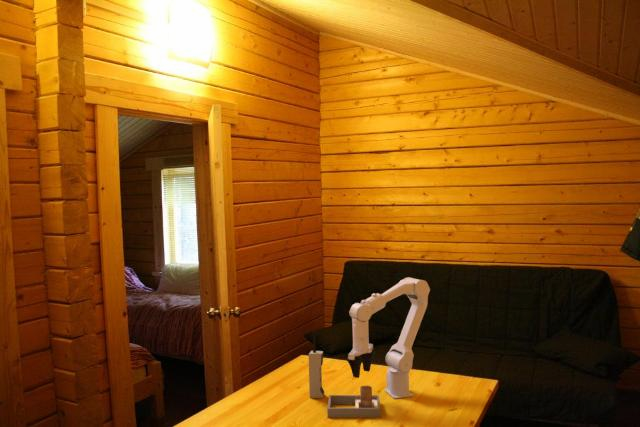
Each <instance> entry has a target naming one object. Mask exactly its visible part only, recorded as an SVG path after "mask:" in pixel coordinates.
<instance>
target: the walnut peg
mask: <svg viewBox="0 0 640 427" xmlns="http://www.w3.org/2000/svg"><path fill="white" fill-rule="evenodd" d="M359 390H360V392H359V393H360V394H359V395H360V398H361V407H360V408H373V407H372V395H373V390H372V386H370V385H361V386H360V388H359Z"/></svg>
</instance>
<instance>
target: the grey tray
mask: <svg viewBox="0 0 640 427" xmlns="http://www.w3.org/2000/svg"><path fill="white" fill-rule="evenodd" d="M380 402H381V401H380V395H379V394H372V408H361V398H360V394H349V395H348V394H330V395H328V401H327V409H326V410H327V411H326V412H327V413H326V414H327V418H376V419H377V418H379V419H380V418H381V416H382V415H381V414H382V412H381V403H380ZM332 405H354V406H355V407H332Z"/></svg>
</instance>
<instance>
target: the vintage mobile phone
mask: <svg viewBox="0 0 640 427" xmlns="http://www.w3.org/2000/svg"><path fill="white" fill-rule="evenodd" d="M315 332H316V330H313V331H312V333H313V334H312V335H313V338H312V339H313V344H312V347H313V348H312V349H313V350H310V352H309V353H308V378H309V379H308V381H309V382H308V386H309V387H308V388H309V390H308V391H309V398H311V399H312V398H315V399H323V397H324V396H325V390H324V387H323V380H322V379H323V378H322V376H323V375H322V374H323V373H322V366H323V364H324V351H322V350H316V349H317V348H316V333H315Z"/></svg>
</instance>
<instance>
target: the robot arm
mask: <svg viewBox="0 0 640 427" xmlns="http://www.w3.org/2000/svg"><path fill="white" fill-rule="evenodd" d="M430 291H431V288H430V286H429V284H428V282H427V281H426V280H423V279H418V278H414V277H410V276H408V277H405V278H403V279H401V280H400V281H399V282H398V283H396V284H395V285H393V286H392V287H390V288H389V289H387V290H385V291H384V292H383V293H379V292H377V293H374V292H373V293H372V294H371V296H370V297H368V298H366V299H362V300H361V301H360V303H359V302H354V304H352V305H351V307H350V309H349V311H348V313H349V316H350V318H351V323H352V349H351V351H350V352H349V353H348V354H347V355H348V356H347V357H346V361H347V363H348V364H349V366H350V369H351V370H350V371H351V374H352V376H353V378H356V379H359V378H360V375H361V367H362V369H363V371H364V372H367V373H368V372H369V373H370V370H371V367H372V362H373V359H374V357H375V355H376V351H375V350H374V344H373V343H370V342H369V341H370V340H369V336H370V335H369V320H370V319H371V317H372V315H374V314H375V313H377V312H378V311H381V310H382V309H384V308H385V307H386V305H387V303H388V302H390V301H391V300H393V299H395V298H398V297H399V296H402V295H406V296H407V298H408V299H409V301H410V303H411V306H410V309H409V311H408V314H407V316H406V318H405V322H404V325H403V327H402V329H401V331H400V336H399V338H398V340H397V342H396V343H395V344H393V345H392V346H391V347H390V349H389V351H388V352H387V353H386V355H385V363H386V365H387V366H388V369H387V371H386V388H384V391H385V392H386V393H387V394H388V395H389V396H390V397H391V398H393V399H401V398H409V397H413V396H414V394H413V393H412V392H411V391H410V371H411V370H412V368H413V360H414V356H415V355H414V352H413V350H412V348H413V345H414V341H415V339H416V336H417V335H418V334H417V333H418V331H419V329H420V327H421V323H422V322H423V321H422V320H423V318H424V315H425V313H426V310H427V307H428V304H429V303H428V300H429V299H428V298H429V294H430ZM360 356H361V358H359V357H360Z"/></svg>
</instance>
